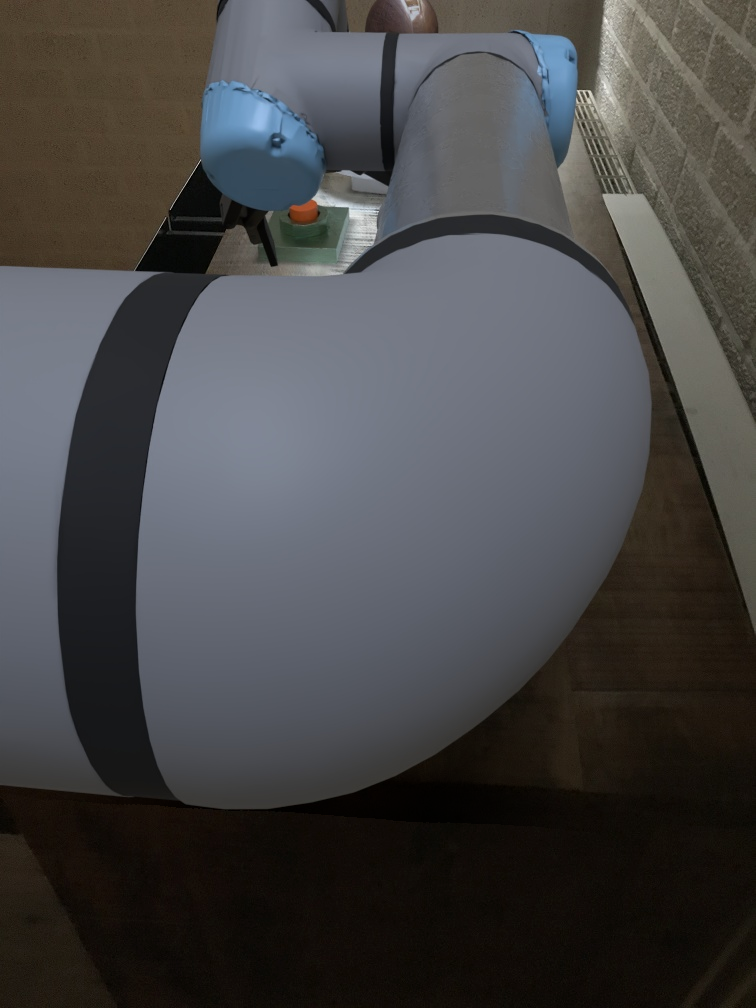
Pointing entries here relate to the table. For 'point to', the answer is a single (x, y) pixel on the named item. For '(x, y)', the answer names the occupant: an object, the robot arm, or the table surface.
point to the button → (304, 211)
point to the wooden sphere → (402, 17)
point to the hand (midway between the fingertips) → (337, 242)
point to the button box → (308, 236)
